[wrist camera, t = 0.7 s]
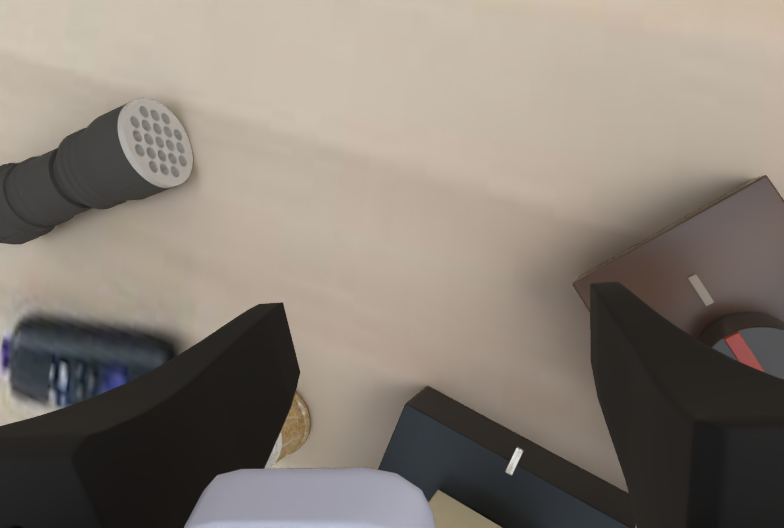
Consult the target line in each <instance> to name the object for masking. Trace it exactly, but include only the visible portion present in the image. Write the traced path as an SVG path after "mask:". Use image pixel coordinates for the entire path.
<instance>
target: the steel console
mask: <svg viewBox="0 0 784 528" xmlns="http://www.w3.org/2000/svg"><path fill="white" fill-rule="evenodd" d="M378 470H382V471H387V472H392V473H397V474H398V475H400V476H401V477H403V478H404V479H406V480H407V481H409V482H410V483H412V484H413V485H415V486H416V487H418V488H419V489H421V490H422V492H423V494H424V496H425V498H426V499H427V501H428V502H429V501H430V500H431V498H432V497H433V496H434V494H435V493H436V492H437V490H440V491H441V492H443V493H445V494H447V495H448V496H450V497H452V498H453V499H455V500H457V501H458V502H460V503H462V504H463V505H465V506H467V507H468V508H470V509H472V510H474V511H475V512H477V513H479V514H480V515H482V516H484V517H485V518H487V519H489V520H490V521H492V522H494V523H495V524H497V525H499V526H501V527H502V528H635V527H636V522H635V517H634V513H633V508H632V503H631V499H630V495H629V494H628V493H626V492H624V491H622V490H621V489H619V488H617V487H615V486H613V485H611V484H609V483H608V482H606V481H604V480H602V479H600V478H598V477H596V476H594V475H593V474H591V473H589V472H587V471H585V470H583V469H581V468H580V467H578V466H576V465H574V464H572V463H570V462H568V461H567V460H565V459H563V458H561V457H559V456H557V455H555V454H554V453H552V452H550V451H548V450H546V449H544V448H542V447H540V446H539V445H537V444H535V443H533V442H531V441H529V440H527V439H526V438H524V437H522V436H520V435H518V434H516V433H514V432H513V431H511V430H509V429H507V428H505V427H503V426H501V425H500V424H498V423H496V422H494V421H492V420H490V419H488V418H486V417H485V416H483V415H481V414H479V413H477V412H475V411H473V410H472V409H470V408H468V407H466V406H464V405H462V404H460V403H459V402H457V401H455V400H453V399H451V398H449V397H447V396H446V395H444V394H442V393H440V392H438V391H436V390H434V389H432V388H431V387H429V386H427V387H426V388H424V389H423V390H422V391H421V392H419V393H418V394H417V395H416V396H414V397H413V398H412V399H411V400H410V401H408V402H407V403H406V404H405V406H404V409H403V411H402V413H401V416H400V418H399V421H398V423H397V425H396V428H395V430H394V433H393V435H392V437H391V440H390V442H389V445H388V447H387V449H386V452H385V454H384V457H383V459H382V461H381V464H380V466H379V469H378Z"/></svg>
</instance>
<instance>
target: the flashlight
mask: <svg viewBox="0 0 784 528" xmlns="http://www.w3.org/2000/svg"><path fill="white" fill-rule="evenodd" d="M192 165H193V155H192V149H191V145H190V142H189V139H188V136H187V134H186V132H185V130H184V128H183V126H182V125H181V123H180V122H179V120H178V119H177V118H176V117H175V115H174V114H173V113H172V112H171V111H170V110H169V109H168V108H166V107H165V106H164V105H162V104H161V103H159V102H157V101H155V100H152V99H149V98H138V99H136V100H133V101H131V102H129V103H127V104H125V105H123V106H121V107H119V108H117V109H114V110H112V111H110V112H108V113H106V114H104V115H102V116H100V117H98V118H96V119H95V120H94V121H93V122H92V123H91V124H90V125H89V126H88V127H87V128H84V129H82V130H79V131H77V132H75V133H73V134H71V135H69V136H67V137H66V138H65V139H64V140H63V141H62V142H61V143H60V145H59V147H58V148H57V149H55V150H53V151H50V152H48V153H46V154H44V155H42V156H38V157H32V158H29V159H27V160H25V161H23V162H21V163H9V164H4V165H1V166H0V243H6V244H23V243H25V242H28V241H30V240H33V239H36V238H38V237H40V236H42V235H45V234H47V233H48V232H50V231H51V230H52V229H53V228H54V227H55V226H56V225H58V224H60V223H62V222H65V221H68V220H69V219H71V218H72V217H73V216H74V215H76V214H79V213H81V212H84V211H86V210H89V209H91V208H97V209H107V208H111V207H113V206H116V205H118V204H121V203H123V202H125V201H127V200H138V199H144V198H146V197H149V196H151V195H154V194H156V193H159V192H162V191H164V190H167V189H169V188H172V187H175V186H177V185H180V184H182V183H183V182H185V181H186V180H187V179H188V177H189V175H190V174H191V170H192Z"/></svg>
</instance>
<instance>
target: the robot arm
mask: <svg viewBox="0 0 784 528" xmlns="http://www.w3.org/2000/svg"><path fill="white" fill-rule="evenodd" d="M590 329H591V364H592V369H593V375H594V380H595V385H596V391H597V396H598V399H599V403H600V406H601V409H602V412H603V415H604V418H605V421H606V424H607V427H608V430H609V433H610V436H611V439H612V442H613V444H614V447H615V450H616V453H617V456H618V459H619V462H620V465H621V468H622V471H623V474H624V477H625V480H626V484H627V487H628V491H629V495H630V499H631V503H632V508H633V513H634V517H635V522H636V527H637V528H784V379H781V378H778V377H775V376H773V375H770V374H768V373H765V372H763V371H760V370H758V369H755V368H753V367H750V366H748V365H746V364H743V363H741V362H739V361H737V360H735V359H733V358H731V357H729V356H727V355H725V354H723V353H721V352H719V351H717V350H715V349H713V348H711V347H709V346H707V345H706V344H704V343H702V342H700V341H699V340H697V339H696V338H694V337H692V336H691V335H689V334H688V333H686V332H685V331H683V330H681V329H680V328H678V327H677V326H675V325H674V324H673V323H671V322H670V321H668V320H667V319H665V318H664V317H663V316H661V315H660V314H659V313H657V312H656V311H655V310H653V309H652V308H651V307H650V306H648V305H647V304H646V303H644V302H643V301H642V300H641V299H640V298H638V297H637V296H636V295H635V294H633V293H632V292H631V291H630V290H629V289H627V288H626V287H625V286H624V285H623V284H621V283H620V282H604V283H590ZM299 375H300V370H299V366H298V362H297V358H296V354H295V350H294V345H293V341H292V337H291V333H290V329H289V325H288V321H287V317H286V313H285V309H284V305H283V303H269V304H259V305H257V306H254V307H253V308H251V309H249V310H247V311H246V312H244V313H243V314H241V315H239V316H238V317H236V318H235V319H233V320H232V321H230V322H229V323H227V324H226V325H224V326H223V327H221V328H220V329H218V330H217V331H215V332H214V333H212V334H211V335H209V336H208V337H206V338H205V339H204V340H202V341H200V342H199V343H197V344H196V345H194V346H192V347H191V348H189V349H188V350H186V351H184V352H183V353H181V354H180V355H178V356H176V357H175V358H173V359H171V360H170V361H168V362H166V363H165V364H163V365H161V366H159V367H157V368H156V369H154V370H152V371H150V372H148V373H146V374H144V375H142V376H140V377H138V378H136V379H134V380H132V381H130V382H128V383H126V384H124V385H121V386H119V387H116V388H114V389H112V390H109V391H107V392H105V393H102V394H100V395H97V396H95V397H93V398H90V399H88V400H85V401H82V402H80V403H77V404H74V405H71V406H68V407H66V408H63V409H59V410H56V411H53V412H50V413H47V414H44V415H41V416H37V417H34V418H30V419H26V420H23V421H19V422H15V423H11V424H7V425H3V426H0V528H435V521H434V515H433V511H432V509H431V507H430V505H429V503H428V501H427V499H426V498H425V496H424V494H423V492H422V490H421V489H419V488H418V487H416V486H415V485H413V484H412V483H410V482H409V481H407V480H406V479H404V478H403V477H401V476H400V475H398V474H397V473H392V472H387V471H382V470H377V469H371V468H288V469H264V468H265V466H266V464H267V462H268V459H269V457H270V455H271V453H272V450H273V448H274V446H275V443H276V441H277V439H278V437H279V434H280V432H281V430H282V427H283V425H284V423H285V420H286V418H287V416H288V413H289V411H290V408H291V406H292V402H293V399H294V395H295V391H296V387H297V383H298V379H299Z"/></svg>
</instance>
